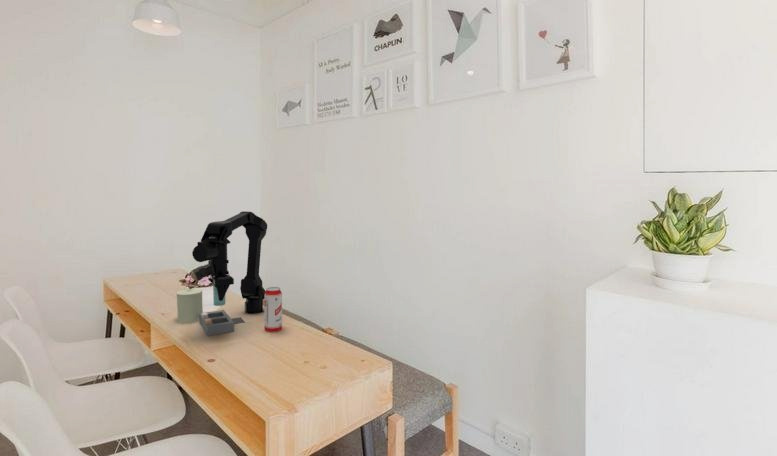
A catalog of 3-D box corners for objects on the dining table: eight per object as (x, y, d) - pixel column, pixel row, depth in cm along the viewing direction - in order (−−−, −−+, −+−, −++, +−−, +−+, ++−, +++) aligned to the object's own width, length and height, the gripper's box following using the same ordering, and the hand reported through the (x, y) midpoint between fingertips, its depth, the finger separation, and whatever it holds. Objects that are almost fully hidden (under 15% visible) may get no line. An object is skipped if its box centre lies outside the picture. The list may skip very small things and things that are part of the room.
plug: (224, 302, 150) (223, 281, 149) (226, 304, 147) (226, 283, 146) (212, 303, 148) (212, 282, 147) (214, 306, 145) (214, 284, 144)
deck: (240, 318, 163) (240, 317, 163) (245, 323, 157) (245, 322, 157) (226, 320, 160) (226, 319, 160) (230, 326, 154) (230, 324, 154)
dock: (223, 319, 161) (223, 307, 161) (234, 333, 147) (234, 319, 147) (199, 323, 156) (199, 310, 156) (207, 337, 142) (207, 323, 142)
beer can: (284, 328, 153) (284, 287, 152) (278, 334, 147) (278, 291, 146) (268, 327, 154) (268, 286, 152) (261, 333, 148) (261, 290, 146)
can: (201, 315, 165) (200, 286, 164) (204, 321, 157) (204, 291, 156) (176, 319, 160) (175, 289, 159) (178, 325, 153) (177, 294, 152)
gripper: (190, 254, 149) (191, 296, 151) (198, 263, 134) (199, 309, 135) (222, 252, 155) (222, 292, 157) (233, 260, 140) (234, 304, 141)
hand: (219, 299), depth 147 cm, fingers closed on plug, 4 cm apart
